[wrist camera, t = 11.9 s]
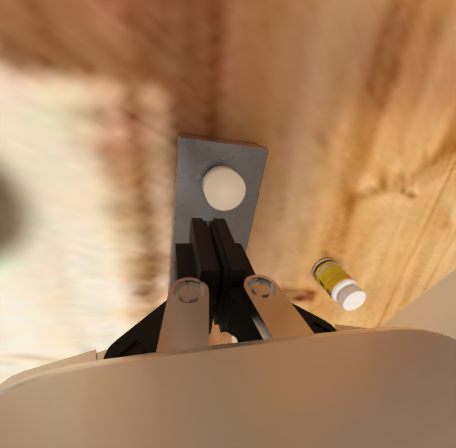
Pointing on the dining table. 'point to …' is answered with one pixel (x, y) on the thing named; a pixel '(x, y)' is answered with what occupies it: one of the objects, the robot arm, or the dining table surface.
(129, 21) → the dining table surface
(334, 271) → the supplement bottle
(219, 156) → the knob plate
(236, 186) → the knob
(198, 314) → the robot arm
